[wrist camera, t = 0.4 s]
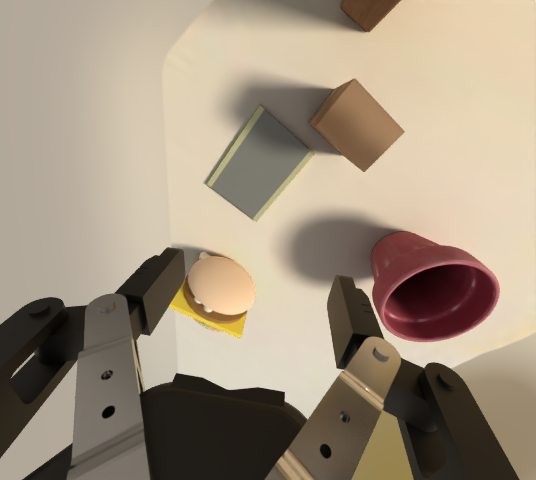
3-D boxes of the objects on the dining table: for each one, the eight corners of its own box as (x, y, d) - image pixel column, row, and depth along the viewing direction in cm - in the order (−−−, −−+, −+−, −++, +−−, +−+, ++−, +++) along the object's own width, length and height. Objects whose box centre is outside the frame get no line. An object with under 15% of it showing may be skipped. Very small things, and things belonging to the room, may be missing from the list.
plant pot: (414, 293, 45) (455, 353, 34) (344, 277, 45) (362, 332, 33) (460, 228, 38) (530, 276, 27) (377, 207, 38) (414, 248, 27)
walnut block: (334, 88, 31) (354, 78, 21) (370, 126, 33) (404, 131, 23) (308, 122, 33) (315, 126, 23) (343, 155, 35) (364, 172, 25)
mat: (260, 105, 32) (259, 105, 32) (313, 153, 35) (314, 154, 34) (207, 183, 38) (206, 184, 38) (256, 220, 41) (256, 221, 40)
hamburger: (265, 268, 45) (257, 315, 35) (245, 296, 49) (233, 346, 38) (207, 239, 43) (181, 279, 33) (192, 270, 47) (164, 316, 36)
